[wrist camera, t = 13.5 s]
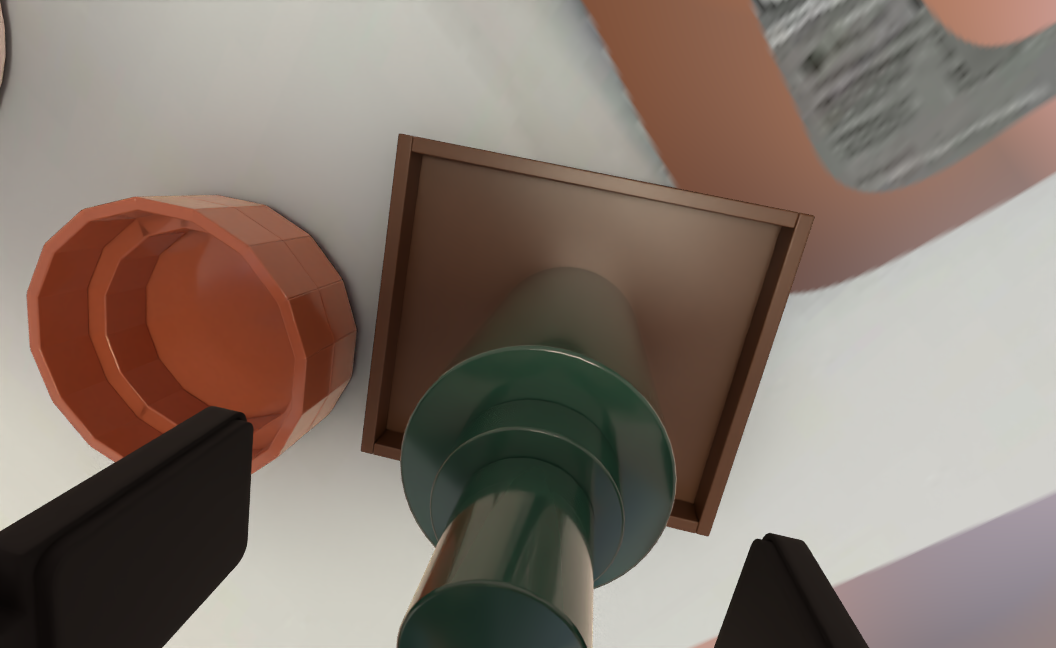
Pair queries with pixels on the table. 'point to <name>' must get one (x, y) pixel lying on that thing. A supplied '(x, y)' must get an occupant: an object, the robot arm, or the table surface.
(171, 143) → the table surface
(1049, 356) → the table surface
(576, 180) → the tray
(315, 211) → the table surface
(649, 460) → the bottle
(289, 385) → the bowl
